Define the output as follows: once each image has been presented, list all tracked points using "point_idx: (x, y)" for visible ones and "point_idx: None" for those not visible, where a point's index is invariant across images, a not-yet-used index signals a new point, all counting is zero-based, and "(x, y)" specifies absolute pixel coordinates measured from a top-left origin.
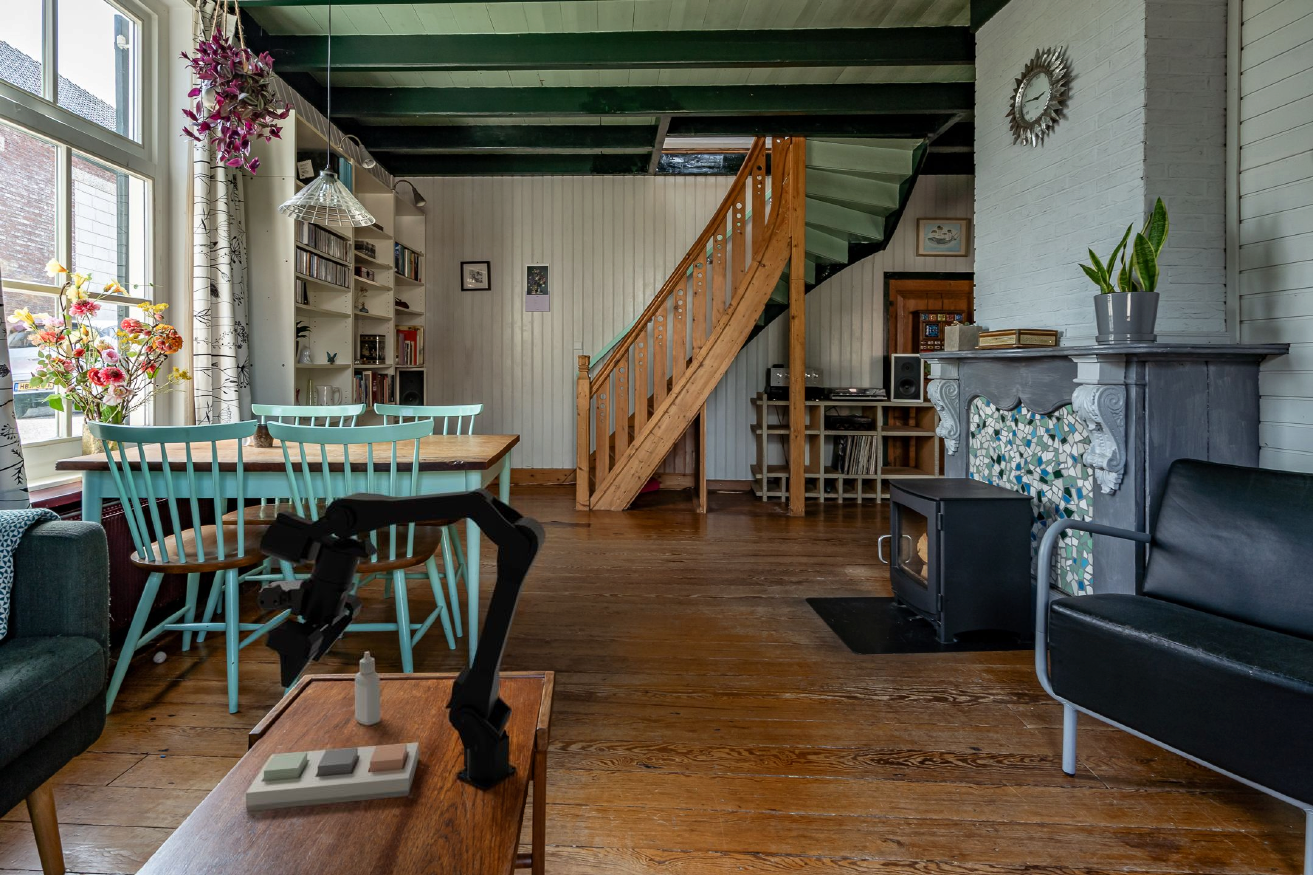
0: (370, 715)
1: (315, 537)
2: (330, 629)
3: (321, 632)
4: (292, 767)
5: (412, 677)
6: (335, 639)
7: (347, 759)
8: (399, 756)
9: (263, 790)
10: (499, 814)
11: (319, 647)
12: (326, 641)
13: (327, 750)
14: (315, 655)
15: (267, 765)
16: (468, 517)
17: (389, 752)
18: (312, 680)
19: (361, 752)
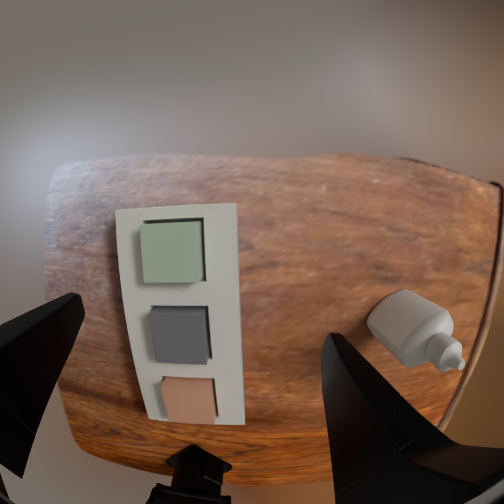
0: (372, 330)
1: None
2: (360, 490)
3: (369, 451)
4: (145, 273)
5: (482, 330)
6: (333, 469)
7: (167, 355)
8: (175, 418)
9: (118, 235)
10: (132, 462)
11: (338, 394)
12: (340, 437)
13: (200, 318)
14: (328, 359)
15: (156, 224)
16: None
17: (188, 407)
18: (501, 186)
19: (221, 359)
